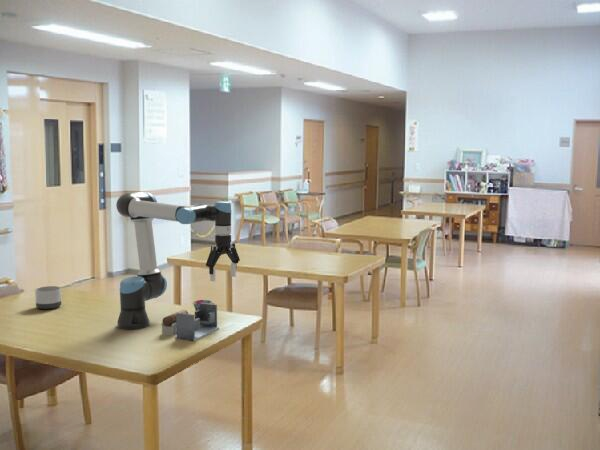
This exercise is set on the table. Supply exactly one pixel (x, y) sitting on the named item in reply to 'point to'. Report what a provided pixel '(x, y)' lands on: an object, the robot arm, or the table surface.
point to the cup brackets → (196, 321)
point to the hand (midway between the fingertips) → (223, 278)
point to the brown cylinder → (172, 318)
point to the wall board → (202, 332)
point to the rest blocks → (169, 329)
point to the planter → (48, 297)
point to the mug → (197, 303)
